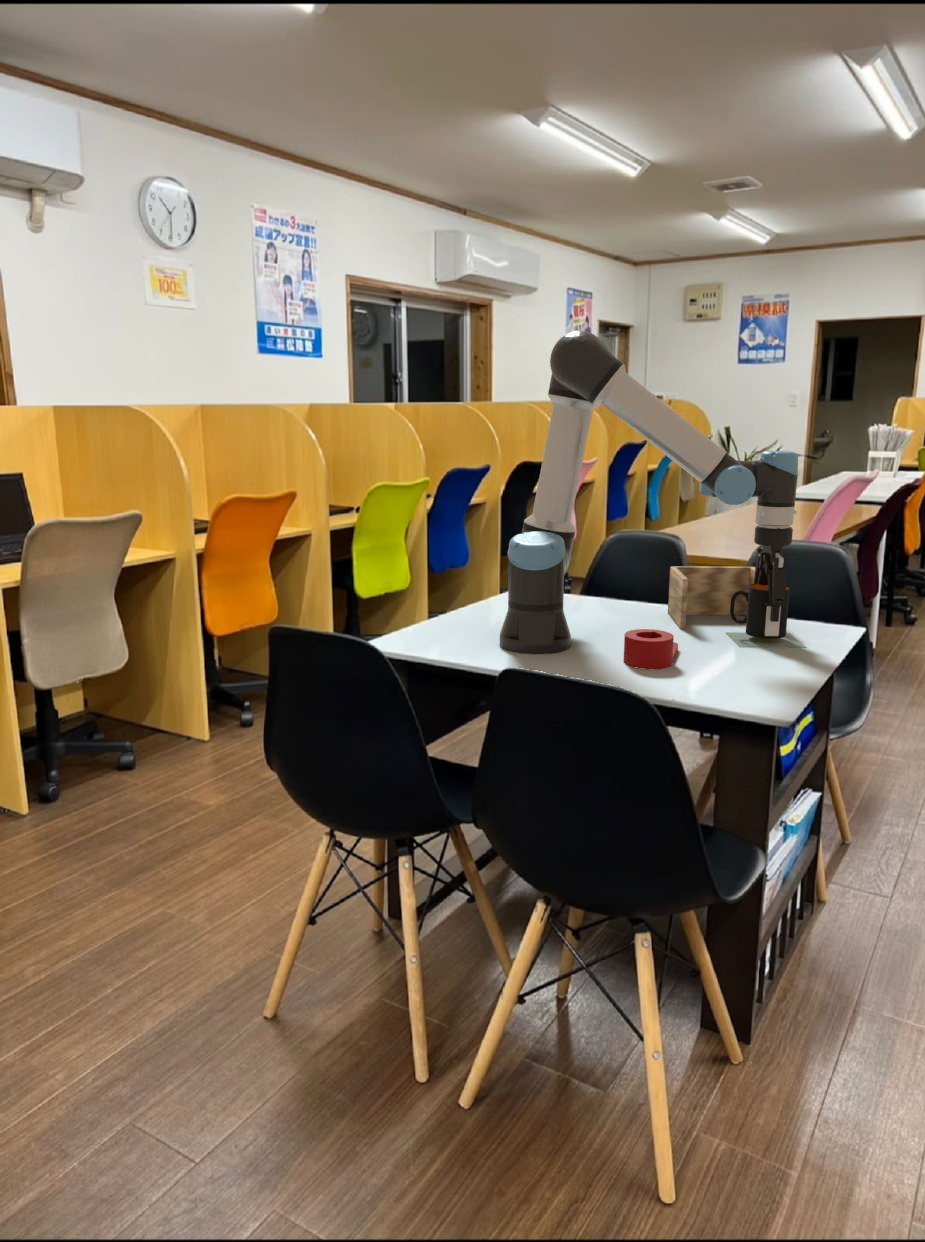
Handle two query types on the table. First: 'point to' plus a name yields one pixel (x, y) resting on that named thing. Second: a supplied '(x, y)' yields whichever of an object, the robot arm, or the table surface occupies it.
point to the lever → (649, 649)
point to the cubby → (707, 591)
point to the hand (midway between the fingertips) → (765, 630)
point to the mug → (760, 611)
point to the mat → (765, 641)
